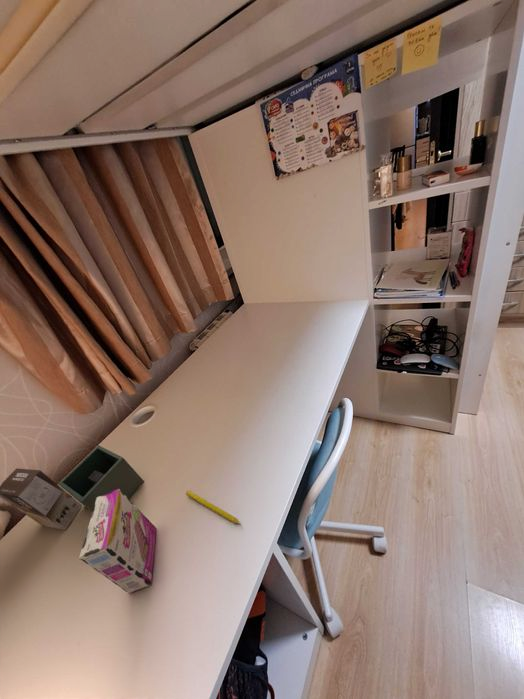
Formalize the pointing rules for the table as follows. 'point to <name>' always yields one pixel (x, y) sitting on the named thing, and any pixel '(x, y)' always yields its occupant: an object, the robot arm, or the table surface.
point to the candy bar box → (120, 542)
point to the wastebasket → (114, 478)
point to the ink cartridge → (95, 477)
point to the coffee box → (39, 498)
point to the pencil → (212, 507)
